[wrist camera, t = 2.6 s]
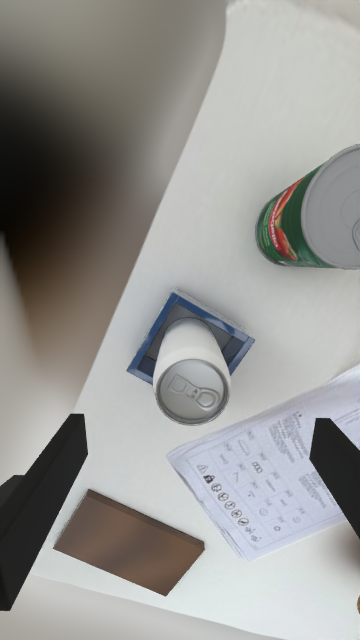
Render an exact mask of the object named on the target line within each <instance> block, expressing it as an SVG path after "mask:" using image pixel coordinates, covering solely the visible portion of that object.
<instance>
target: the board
mask: <svg viewBox="0 0 360 640" xmlns="http://www.w3.org/2000/svg"><path fill="white" fill-rule="evenodd" d="M53 549H55V550H57V551H60V552H62V553H64V554H67V555H69V556H71V557H74V558H76V559H78V560H81V561H83V562H86V563H88V564H90V565H93V566H95V567H97V568H100V569H102V570H104V571H107V572H109V573H111V574H114V575H116V576H119V577H121V578H123V579H126V580H128V581H130V582H133V583H135V584H137V585H140V586H142V587H144V588H147V589H149V590H152V591H154V592H156V593H159V594H161V595H163V596H167V595H168V593H169V592H170V591H171V590H172V589H173V587H174V586H175V585H176V584H177V582H178V581H179V580H180V579H181V578H182V576H183V575H184V574H185V573H186V572H187V570H188V569H189V568H190V567H191V566H192V564H193V563H194V562H195V561H196V560H197V558H198V557H199V556H200V555H201V554H202V552H203V551H204V550H205V548H204V542H202V541H200V540H197V539H195V538H193V537H191V536H189V535H187V534H185V533H182V532H180V531H178V530H176V529H174V528H172V527H169V526H167V525H165V524H163V523H161V522H159V521H156V520H154V519H152V518H150V517H148V516H146V515H143V514H141V513H139V512H137V511H135V510H133V509H130V508H128V507H126V506H124V505H122V504H120V503H117V502H115V501H113V500H111V499H109V498H107V497H104V496H102V495H100V494H98V493H96V492H94V491H91V490H89V489H88V491H87V492H86V494H85V496H84V497H83V499H82V500H81V502H80V504H79V505H78V507H77V508H76V510H75V512H74V513H73V515H72V517H71V518H70V520H69V521H68V523H67V525H66V526H65V528H64V530H63V531H62V533H61V534H60V536H59V538H58V539H57V541H56V543H55V545H54V547H53Z"/></svg>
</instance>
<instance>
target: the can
mask: <svg viewBox="0 0 360 640" xmlns="http://www.w3.org/2000/svg"><path fill="white" fill-rule="evenodd" d="M230 385H231V380H230V374H229V370H228V367H227V365H226V362H225V360H224V357H223V355H222V353H221V350H220V348H219V345H218V343H217V341H216V339H215V336H214V334H213V332H212V330H211V329H210V328H209V326H208V325H207V324H205V323H204V322H202V321H200V320H198V319H194V318H183V319H180V320H177V321H175V322H174V323H172V324H171V325H170V326H169V327H168V328H167V330H166V332H165V333H164V336H163V339H162V343H161V347H160V350H159V354H158V358H157V362H156V366H155V370H154V375H153V389H154V393H155V395H156V400H157V403H158V406H159V408H160V409H161V411H162V412H163V413H164V414H165V415H166V416H167V417H168V418H169V419H171V420H173V421H174V422H177V423H179V424H183V425H189V426H196V425H202V424H205V423H208V422H210V421H212V420H214V419H215V418H217V417H218V416H219V415H220V414H221V413H222V412H223V410H224V409H225V407H226V405H227V403H228V399H229V391H230Z"/></svg>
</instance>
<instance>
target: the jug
mask: <svg viewBox="0 0 360 640" xmlns="http://www.w3.org/2000/svg"><path fill="white" fill-rule="evenodd" d="M357 607H358V611H359V614H360V596H359V598H358V603H357Z"/></svg>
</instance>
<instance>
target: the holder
mask: <svg viewBox="0 0 360 640" xmlns="http://www.w3.org/2000/svg"><path fill="white" fill-rule="evenodd" d="M175 302H176V303H177V304H179V305H181V306H183V307H184V308H186V309H188V310H189V311H191V312H193V313H195V314H196V315H198V316H200V317H201V318H203V319H205V320H207V321H208V322H210V323H212V324H214V325H215V326H217V327H219V328H220V329H222V330H224V331H226V332H227V333H229V334H231V335H232V337H231V339H230V340H229V342H228V343H227V345H226V346H225V348H224V349H223V351H222V352H221V353H222V355H223V357H224V360H225V362H226V365H227V367H228V370H229V374H230V376H231V374H232V373H233V372H234V370H235V369H236V367H237V366H238V364H239V363H240V362H241V360H242V359H243V357H244V356H245V354H246V353H247V351H248V350H249V349H250V347H251V346H252V344H253V343H254V341H255V339H254V338H253V337H252V336H251V335H250V334H249V333H248V332H247V331H246V330H245V328H243V327H241V326H239V325H238V324H236V323H234V322H233V321H231V320H229V319H228V318H226V317H224V316H223V315H221V314H219V313H217V312H216V311H214V310H212V309H211V308H209V307H207V306H206V305H204V304H202V303H200V302H199V301H197V300H195V299H194V298H192V297H190V296H189V295H187V294H185V293H183V292H182V291H180V290H178V289H177V288H175V287H174V288H173V289H172V291H171V293H170V295H169V296H168V298H167V300H166V301H165V303H164V305H163V307H162V308H161V310H160V312H159V314H158V315H157V317H156V319H155V320H154V322H153V324H152V326H151V327H150V329H149V331H148V333H147V334H146V336H145V338H144V339H143V341H142V343H141V345H140V346H139V348H138V350H137V352H136V353H135V355H134V357H133V359H132V361H131V363H130V365H129V367H128V368H127V370H126V371H127V372H129V373H131V374H133V375H135V376H136V377H138V378H140V379H142V380H144V381H146V382H148V383H150V384H152V385H153V375H154V370H155V366H156V362H157V361H156V360H154V359H152V358H150V357H148V356H146V355H145V353H146V351H147V349H148V348H149V346H150V344H151V343H152V341H153V339H154V337H155V336H156V334H157V332H158V331H159V329H160V327H161V326H162V324H163V322H164V320H165V319H166V317H167V315H168V314H169V312H170V310H171V309H172V307H173V305H174V304H175Z"/></svg>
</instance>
